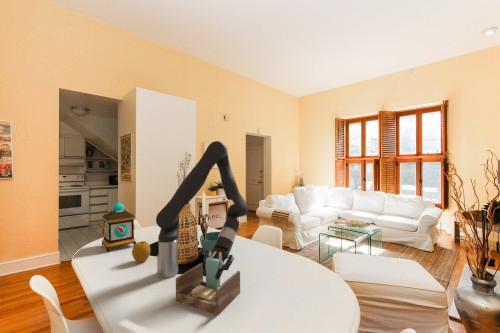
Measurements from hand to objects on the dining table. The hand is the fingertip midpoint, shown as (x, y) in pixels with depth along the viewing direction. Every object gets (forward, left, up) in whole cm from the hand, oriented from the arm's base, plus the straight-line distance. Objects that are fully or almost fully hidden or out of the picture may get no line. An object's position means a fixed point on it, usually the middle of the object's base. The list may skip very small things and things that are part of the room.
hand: (210, 277), depth 96 cm
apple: (-59, +15, -9) cm, 61 cm away
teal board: (0, +2, -5) cm, 6 cm away
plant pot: (-25, +40, -9) cm, 48 cm away
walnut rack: (0, -1, -9) cm, 9 cm away
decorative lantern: (-96, +27, -9) cm, 100 cm away
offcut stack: (0, -5, -7) cm, 9 cm away
